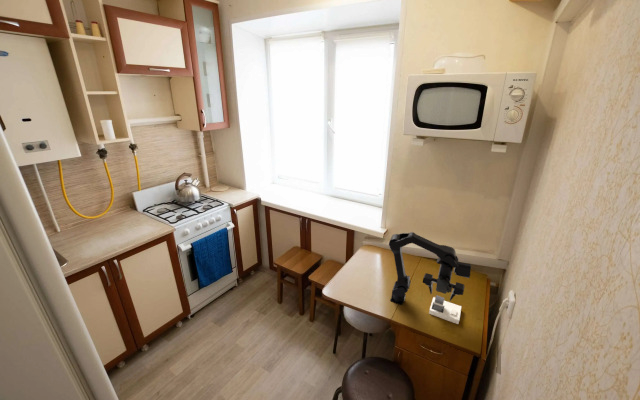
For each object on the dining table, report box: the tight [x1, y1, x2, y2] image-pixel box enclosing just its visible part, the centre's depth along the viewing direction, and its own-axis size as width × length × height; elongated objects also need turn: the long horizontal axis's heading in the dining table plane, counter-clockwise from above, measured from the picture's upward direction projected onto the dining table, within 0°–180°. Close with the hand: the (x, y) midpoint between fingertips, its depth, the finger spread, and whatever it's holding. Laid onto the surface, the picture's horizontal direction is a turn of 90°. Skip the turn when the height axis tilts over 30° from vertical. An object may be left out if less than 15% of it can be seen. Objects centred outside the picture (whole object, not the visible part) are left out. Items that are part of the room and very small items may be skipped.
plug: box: [433, 294, 445, 312], centre depth 143 cm, size 4×4×8 cm
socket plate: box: [428, 296, 462, 325], centre depth 144 cm, size 14×11×3 cm
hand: (440, 296), depth 141 cm, fingers open, 9 cm apart
